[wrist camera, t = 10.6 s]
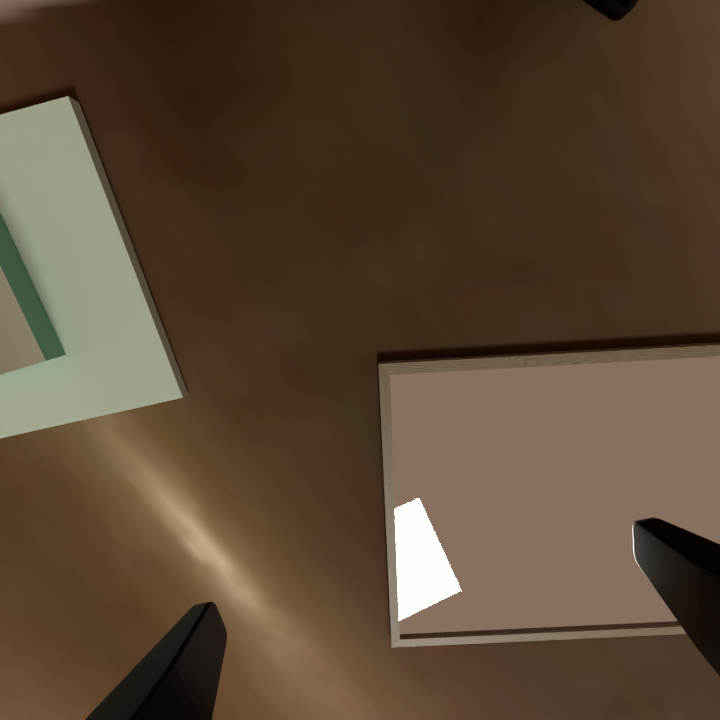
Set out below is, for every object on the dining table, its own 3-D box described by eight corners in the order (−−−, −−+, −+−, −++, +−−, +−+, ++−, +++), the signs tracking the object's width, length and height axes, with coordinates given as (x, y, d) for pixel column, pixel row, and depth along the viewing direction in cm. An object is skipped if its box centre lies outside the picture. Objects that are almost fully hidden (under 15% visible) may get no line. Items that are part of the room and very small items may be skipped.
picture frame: (901, 329, 19) (377, 359, 19) (930, 332, 18) (378, 364, 18) (807, 612, 24) (390, 632, 24) (827, 627, 23) (391, 647, 23)
